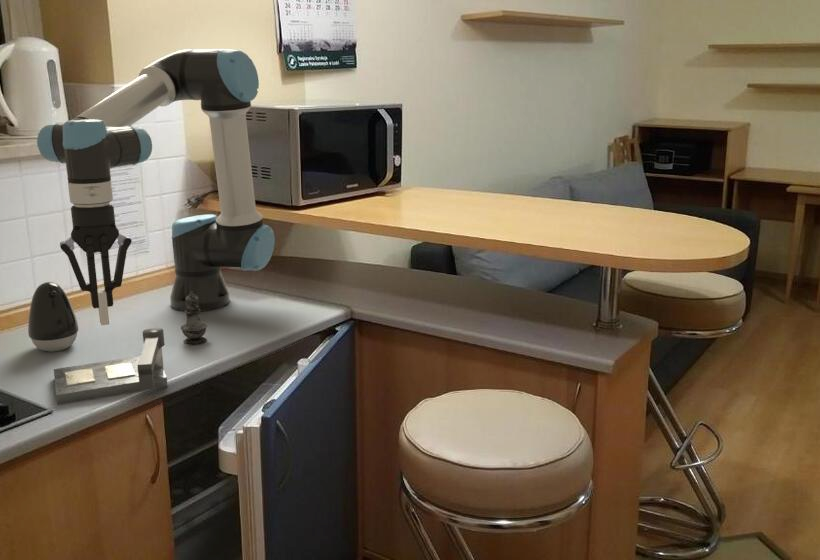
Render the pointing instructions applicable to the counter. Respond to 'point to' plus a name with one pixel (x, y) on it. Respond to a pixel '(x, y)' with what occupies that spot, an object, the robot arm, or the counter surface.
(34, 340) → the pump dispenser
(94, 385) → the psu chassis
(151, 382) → the lever
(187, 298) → the grey chess piece
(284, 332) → the counter surface
